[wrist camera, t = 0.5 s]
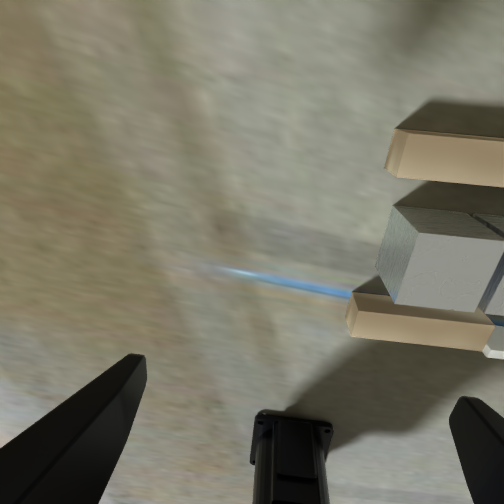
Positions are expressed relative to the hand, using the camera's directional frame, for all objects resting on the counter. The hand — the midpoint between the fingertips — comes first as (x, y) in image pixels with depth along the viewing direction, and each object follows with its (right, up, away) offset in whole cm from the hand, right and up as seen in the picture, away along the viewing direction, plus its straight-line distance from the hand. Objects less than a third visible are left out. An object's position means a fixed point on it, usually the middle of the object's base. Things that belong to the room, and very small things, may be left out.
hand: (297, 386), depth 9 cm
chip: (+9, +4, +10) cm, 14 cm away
